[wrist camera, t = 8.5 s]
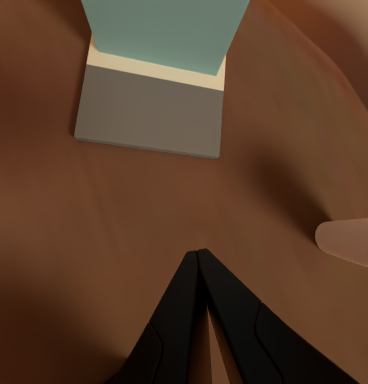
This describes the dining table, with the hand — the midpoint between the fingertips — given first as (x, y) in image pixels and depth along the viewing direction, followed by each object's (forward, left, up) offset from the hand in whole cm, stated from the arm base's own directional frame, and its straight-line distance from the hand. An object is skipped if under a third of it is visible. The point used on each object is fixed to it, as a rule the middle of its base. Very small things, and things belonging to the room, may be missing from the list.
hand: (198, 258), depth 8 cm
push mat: (+10, +17, -12) cm, 23 cm away
